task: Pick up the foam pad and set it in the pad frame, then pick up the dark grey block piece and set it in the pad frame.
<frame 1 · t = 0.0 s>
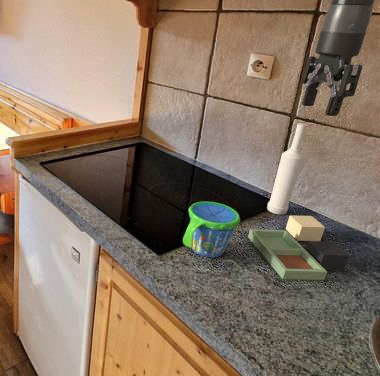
hand: (318, 110, 87), 32 cm above the worktop, tool pointing down, fingers open, 8 cm apart
foam pad: (302, 235, 102), on the worktop
dark grey block piece: (323, 262, 91), on the worktop
snack cup: (205, 250, 95), on the worktop
pad frame: (282, 256, 93), on the worktop
bottle: (276, 211, 114), on the worktop
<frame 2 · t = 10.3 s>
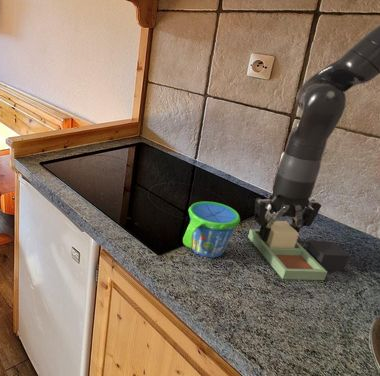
hand: (276, 239, 96), 2 cm above the worktop, tool pointing down, fingers closed on foam pad, 5 cm apart
foam pad: (275, 241, 96), point 2 cm above the worktop, touching gripper
everything else where it was.
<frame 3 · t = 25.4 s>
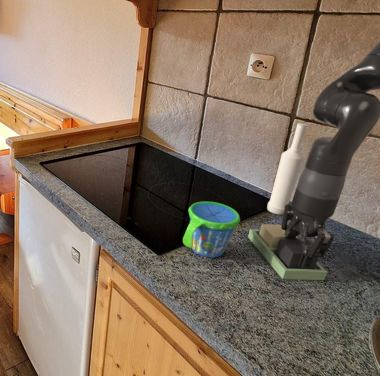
hand: (294, 259, 88), 2 cm above the worktop, tool pointing down, fingers closed on dark grey block piece, 5 cm apart
foam pad: (274, 244, 96), point 1 cm above the worktop, touching pad frame
dark grey block piece: (294, 261, 89), point 2 cm above the worktop, touching gripper
everything else where it was.
when the fingers open (2 cm above the worktop, at t = 29.8 s): dark grey block piece drops 1 cm, resting on pad frame.
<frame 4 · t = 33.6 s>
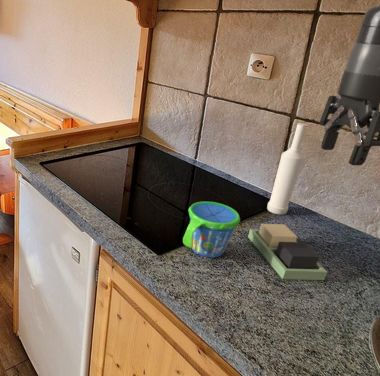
hand: (340, 156, 78), 26 cm above the worktop, tool pointing down, fingers open, 8 cm apart
dark grey block piece: (293, 264, 89), point 1 cm above the worktop, touching pad frame
everything else where it was.
at the end: foam pad 0.2 cm from the target spot in the pad frame, point 0.6 cm above the pad frame's base; dark grey block piece 0.0 cm from the target spot in the pad frame, point 0.8 cm above the pad frame's base; dark grey block piece tilted 0° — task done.
